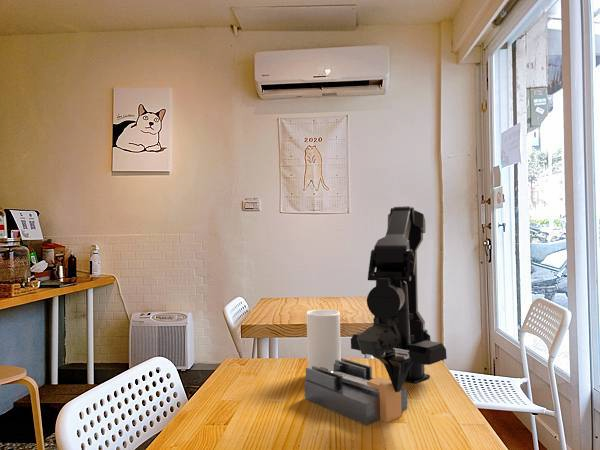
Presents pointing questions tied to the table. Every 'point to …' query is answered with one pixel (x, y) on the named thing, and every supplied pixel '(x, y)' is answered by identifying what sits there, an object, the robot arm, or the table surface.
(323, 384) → the slotted grey stand
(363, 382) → the strap
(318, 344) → the cup
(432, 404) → the table surface
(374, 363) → the table surface
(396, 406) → the tan piece
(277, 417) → the table surface
